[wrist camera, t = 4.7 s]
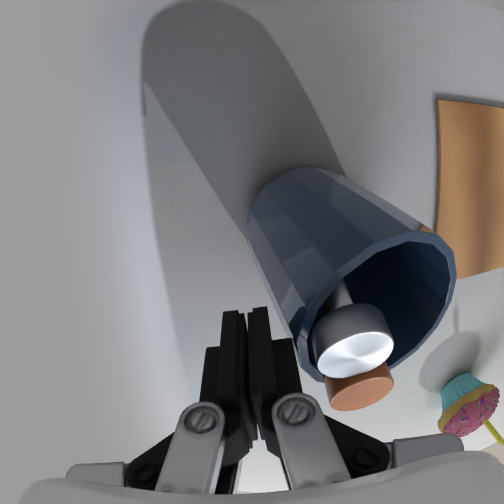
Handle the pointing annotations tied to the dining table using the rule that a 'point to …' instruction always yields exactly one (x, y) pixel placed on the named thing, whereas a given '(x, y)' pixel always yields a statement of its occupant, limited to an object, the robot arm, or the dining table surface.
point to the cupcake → (468, 406)
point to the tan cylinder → (358, 386)
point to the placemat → (471, 184)
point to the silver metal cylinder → (350, 336)
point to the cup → (347, 259)
